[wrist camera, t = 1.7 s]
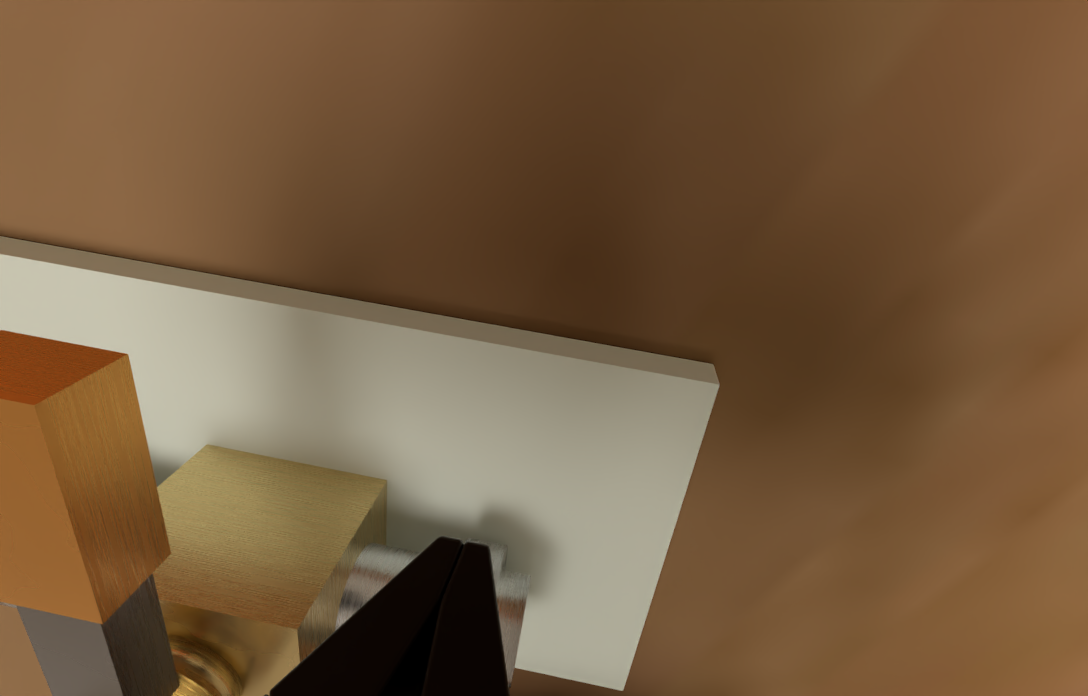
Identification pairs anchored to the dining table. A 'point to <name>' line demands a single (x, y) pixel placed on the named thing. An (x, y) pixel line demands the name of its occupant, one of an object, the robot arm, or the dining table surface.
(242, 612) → the valve
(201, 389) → the board
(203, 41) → the dining table surface
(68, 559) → the lever
